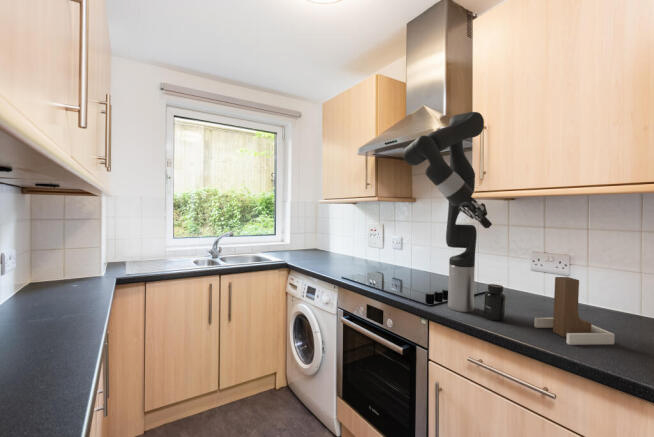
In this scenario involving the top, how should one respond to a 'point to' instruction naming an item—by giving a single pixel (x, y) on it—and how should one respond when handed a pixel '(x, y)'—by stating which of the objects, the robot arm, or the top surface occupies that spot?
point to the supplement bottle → (494, 303)
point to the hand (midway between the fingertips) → (488, 226)
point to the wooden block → (567, 308)
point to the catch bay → (580, 334)
